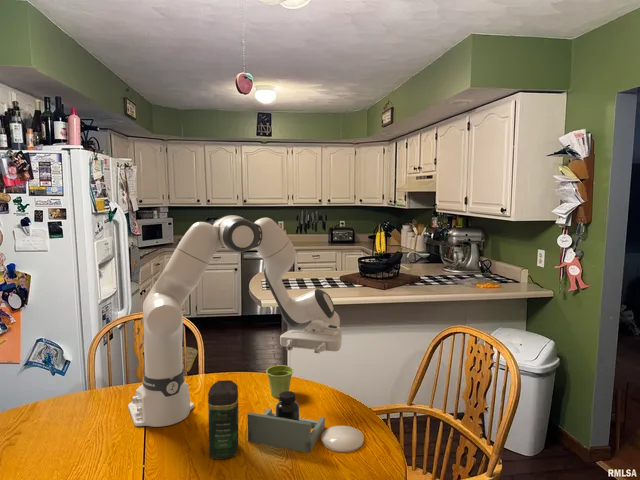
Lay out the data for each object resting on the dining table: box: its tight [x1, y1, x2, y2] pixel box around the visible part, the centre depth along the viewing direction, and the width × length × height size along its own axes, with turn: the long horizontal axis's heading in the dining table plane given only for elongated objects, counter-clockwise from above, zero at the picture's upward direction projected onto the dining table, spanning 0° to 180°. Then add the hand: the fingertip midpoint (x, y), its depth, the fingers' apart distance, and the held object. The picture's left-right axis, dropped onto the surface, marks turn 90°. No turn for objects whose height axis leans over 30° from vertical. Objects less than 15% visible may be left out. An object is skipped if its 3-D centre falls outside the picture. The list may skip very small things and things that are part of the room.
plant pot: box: [265, 364, 294, 399], centre depth 154 cm, size 9×9×9 cm
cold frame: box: [247, 407, 326, 454], centre depth 128 cm, size 14×18×8 cm
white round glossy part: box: [320, 425, 365, 453], centre depth 126 cm, size 12×12×1 cm
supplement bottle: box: [275, 390, 300, 421], centre depth 128 cm, size 7×7×12 cm
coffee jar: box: [207, 379, 240, 460], centre depth 119 cm, size 10×8×19 cm
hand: (302, 349), depth 137 cm, fingers open, 8 cm apart
